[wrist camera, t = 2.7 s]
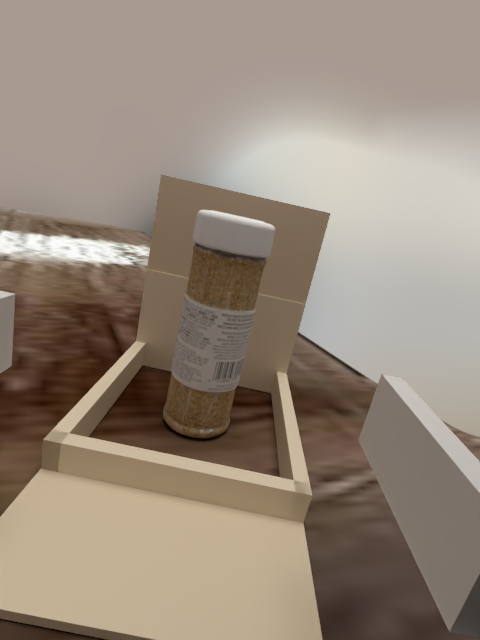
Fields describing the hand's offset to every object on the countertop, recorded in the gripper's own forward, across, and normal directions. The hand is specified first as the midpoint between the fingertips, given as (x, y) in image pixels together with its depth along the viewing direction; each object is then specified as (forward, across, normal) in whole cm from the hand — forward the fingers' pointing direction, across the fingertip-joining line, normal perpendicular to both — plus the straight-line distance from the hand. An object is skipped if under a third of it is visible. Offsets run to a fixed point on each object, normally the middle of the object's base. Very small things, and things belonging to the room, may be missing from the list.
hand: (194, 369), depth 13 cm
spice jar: (+10, 0, -8) cm, 13 cm away
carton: (+7, 0, -8) cm, 10 cm away
